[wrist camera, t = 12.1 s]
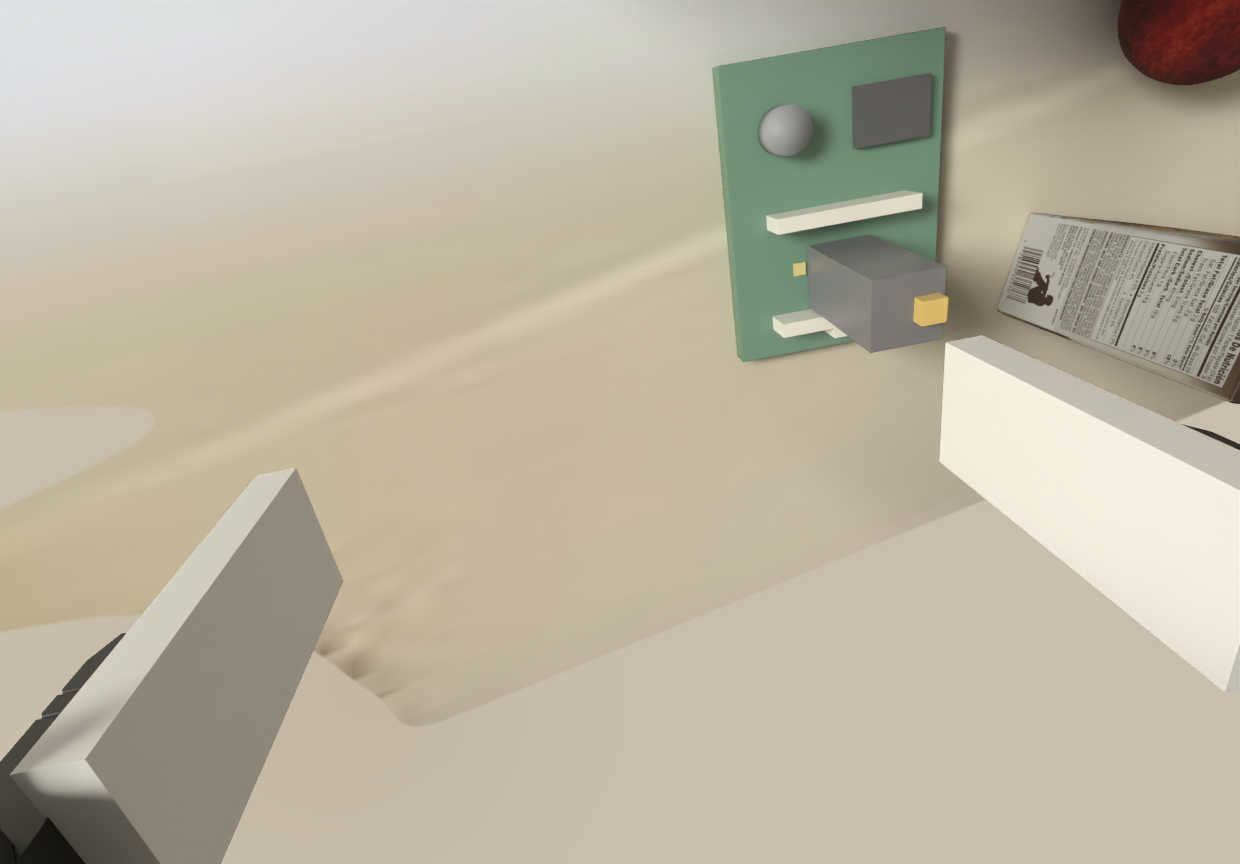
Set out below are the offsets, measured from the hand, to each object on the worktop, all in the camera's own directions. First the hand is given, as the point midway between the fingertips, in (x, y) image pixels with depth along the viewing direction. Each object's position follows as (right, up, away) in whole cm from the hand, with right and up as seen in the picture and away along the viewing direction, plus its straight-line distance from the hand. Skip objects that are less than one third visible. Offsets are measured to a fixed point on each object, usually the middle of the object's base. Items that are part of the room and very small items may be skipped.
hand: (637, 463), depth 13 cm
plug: (+12, +10, +25) cm, 30 cm away
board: (+12, +14, +25) cm, 31 cm away
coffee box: (+28, +11, +28) cm, 41 cm away
